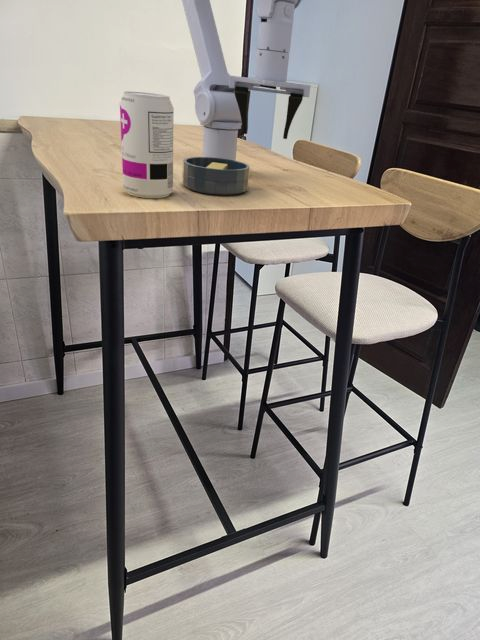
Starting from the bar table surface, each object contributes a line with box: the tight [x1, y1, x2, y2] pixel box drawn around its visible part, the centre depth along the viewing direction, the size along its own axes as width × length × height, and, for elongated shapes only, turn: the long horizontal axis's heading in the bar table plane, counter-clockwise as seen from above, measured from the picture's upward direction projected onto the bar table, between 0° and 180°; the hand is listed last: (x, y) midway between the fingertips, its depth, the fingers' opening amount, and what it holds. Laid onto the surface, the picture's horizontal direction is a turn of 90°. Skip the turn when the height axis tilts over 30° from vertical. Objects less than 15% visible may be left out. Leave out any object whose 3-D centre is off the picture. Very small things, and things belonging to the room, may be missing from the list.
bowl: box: [181, 156, 251, 196], centre depth 89 cm, size 12×12×4 cm
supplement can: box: [119, 90, 174, 199], centre depth 77 cm, size 8×8×15 cm
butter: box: [206, 162, 228, 170], centre depth 89 cm, size 7×3×4 cm, turn 173°
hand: (265, 135), depth 90 cm, fingers open, 7 cm apart
